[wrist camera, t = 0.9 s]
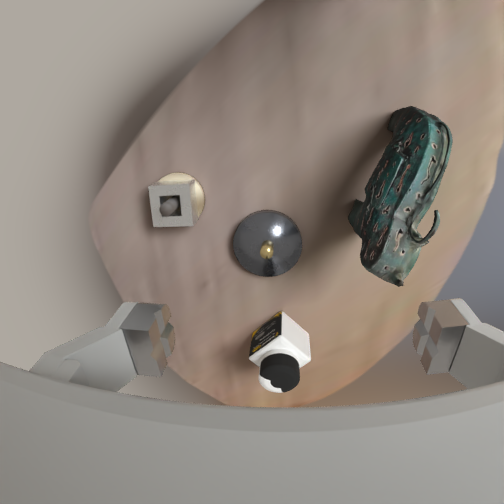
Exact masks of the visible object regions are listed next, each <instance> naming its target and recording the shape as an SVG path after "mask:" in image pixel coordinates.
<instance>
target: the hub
mask: <svg viewBox="0 0 504 504" xmlns="http://www.w3.org/2000/svg"><path fill="white" fill-rule="evenodd" d="M233 248H234V253H235V255H236V258H237V259H238V261H239V262H240V264H241V265H242V266H243V267H244V268H245V269H247V270H248V271H250V272H251V273H254V274H256V275H259V276H267V277H270V276H277V275H280V274H283V273H285V272H287V271H288V270H290V269H291V268H292V267H293V266H294V265H295V264H296V262H297V261H298V259H299V257H300V254H301V250H302V240H301V234H300V231H299V229H298V227H297V225H296V224H295V223H294V221H293V220H292V219H291V218H289V217H288V216H286V215H285V214H283V213H281V212H278V211H273V210H261V211H257V212H254V213H252V214H250V215H249V216H247V217H246V218H245V219H244V220H243V221H242V222H241V223H240V224H239V226H238V228H237V230H236V233H235V236H234V240H233Z"/></svg>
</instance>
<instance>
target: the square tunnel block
mask: <svg viewBox="0 0 504 504" xmlns="http://www.w3.org/2000/svg"><path fill="white" fill-rule="evenodd" d="M148 189H149V197H150V205H151V212H152V220H153V227H178V226H194V225H195V223H196V222H197V221H198V209H197V197H196V186H195V179H192V180H174V181H159V182H155V183H153V184H151V185H149V186H148ZM170 195H180V204H181V210H175V211H174V212H173V213H172V214H171V215H170V216H168V217H165V216H163V215H161V213H160V211H159V208H160V206H161V205H162V204H163V203H165V202H166V201H167V196H170Z"/></svg>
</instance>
